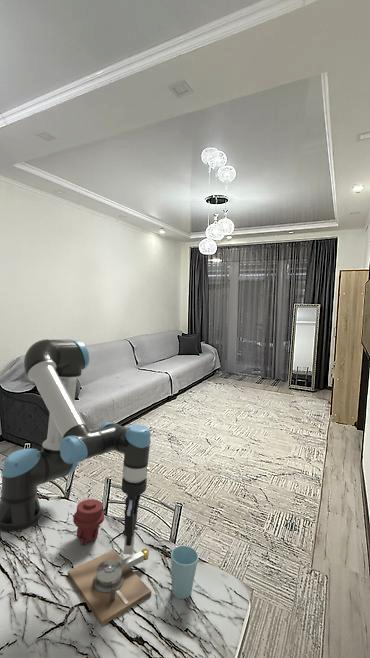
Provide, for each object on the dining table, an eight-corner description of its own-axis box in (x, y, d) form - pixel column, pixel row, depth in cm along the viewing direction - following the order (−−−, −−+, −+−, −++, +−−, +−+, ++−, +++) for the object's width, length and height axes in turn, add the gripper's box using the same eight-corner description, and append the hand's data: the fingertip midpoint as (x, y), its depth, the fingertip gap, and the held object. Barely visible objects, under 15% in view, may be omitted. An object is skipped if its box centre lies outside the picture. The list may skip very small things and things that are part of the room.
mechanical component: (107, 532, 114) (93, 552, 104) (81, 526, 116) (65, 545, 106) (110, 498, 114) (97, 514, 104) (84, 492, 116) (68, 507, 106)
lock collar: (91, 575, 92) (92, 564, 92) (140, 551, 104) (141, 541, 104) (103, 592, 87) (104, 580, 87) (154, 564, 99) (155, 554, 99)
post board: (67, 574, 94) (68, 561, 94) (113, 553, 105) (114, 540, 104) (101, 626, 80) (103, 610, 80) (151, 595, 90) (152, 580, 90)
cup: (187, 607, 87) (191, 569, 87) (162, 594, 91) (166, 557, 90) (199, 588, 94) (202, 552, 94) (175, 576, 97) (178, 542, 97)
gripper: (143, 489, 94) (136, 569, 95) (149, 469, 107) (143, 540, 108) (117, 486, 94) (110, 567, 95) (127, 466, 107) (121, 537, 108)
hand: (128, 552), depth 101 cm, fingers closed
